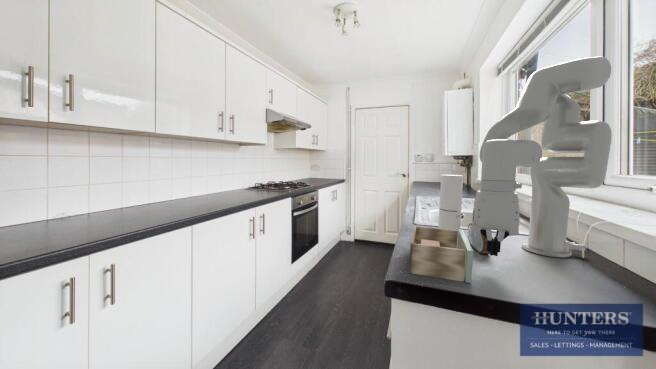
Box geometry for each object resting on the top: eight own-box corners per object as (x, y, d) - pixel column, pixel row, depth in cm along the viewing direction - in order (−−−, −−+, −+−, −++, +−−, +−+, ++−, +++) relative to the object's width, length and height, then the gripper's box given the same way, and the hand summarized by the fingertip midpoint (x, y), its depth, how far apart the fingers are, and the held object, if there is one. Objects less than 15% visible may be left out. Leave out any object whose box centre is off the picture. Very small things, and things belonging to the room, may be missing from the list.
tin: (492, 258, 79) (494, 231, 78) (481, 257, 80) (483, 230, 79) (474, 243, 94) (476, 220, 93) (465, 242, 94) (466, 220, 94)
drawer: (461, 254, 81) (462, 229, 80) (471, 283, 62) (473, 251, 61) (416, 248, 86) (417, 225, 85) (413, 273, 66) (414, 243, 66)
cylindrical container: (434, 240, 96) (437, 174, 94) (453, 240, 96) (457, 174, 94) (442, 246, 89) (446, 175, 87) (463, 246, 89) (467, 175, 87)
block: (438, 257, 76) (439, 241, 76) (439, 263, 71) (439, 246, 71) (420, 255, 78) (421, 239, 77) (420, 260, 73) (420, 244, 73)
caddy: (456, 255, 81) (457, 230, 80) (463, 281, 63) (465, 250, 62) (413, 249, 86) (414, 226, 85) (409, 272, 68) (410, 243, 67)
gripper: (527, 186, 68) (521, 253, 69) (463, 184, 73) (460, 246, 75) (537, 189, 61) (531, 263, 62) (466, 187, 66) (463, 254, 68)
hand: (492, 253), depth 69 cm, fingers closed
